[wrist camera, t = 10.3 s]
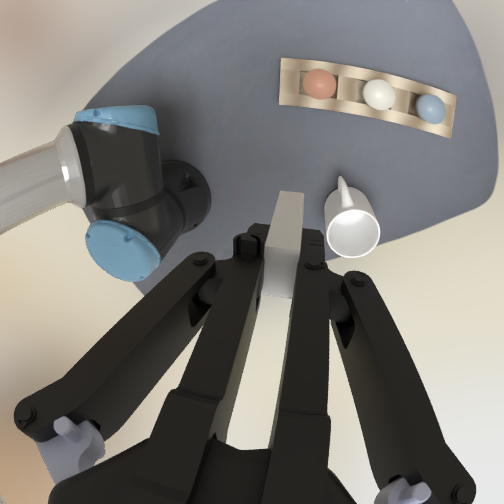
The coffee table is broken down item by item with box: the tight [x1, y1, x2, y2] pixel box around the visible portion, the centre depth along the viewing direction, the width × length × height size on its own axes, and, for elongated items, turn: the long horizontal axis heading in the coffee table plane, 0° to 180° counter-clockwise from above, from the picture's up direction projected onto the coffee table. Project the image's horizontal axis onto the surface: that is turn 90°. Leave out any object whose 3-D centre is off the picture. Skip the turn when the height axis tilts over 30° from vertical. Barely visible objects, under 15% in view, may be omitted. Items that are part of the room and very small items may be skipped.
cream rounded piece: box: [362, 79, 395, 110], centre depth 34 cm, size 5×5×4 cm
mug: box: [324, 176, 380, 258], centre depth 45 cm, size 9×12×11 cm
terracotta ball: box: [303, 69, 336, 100], centre depth 35 cm, size 5×5×4 cm
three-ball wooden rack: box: [279, 58, 456, 138], centre depth 36 cm, size 30×8×3 cm, turn 89°
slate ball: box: [416, 94, 446, 124], centre depth 33 cm, size 5×5×4 cm
